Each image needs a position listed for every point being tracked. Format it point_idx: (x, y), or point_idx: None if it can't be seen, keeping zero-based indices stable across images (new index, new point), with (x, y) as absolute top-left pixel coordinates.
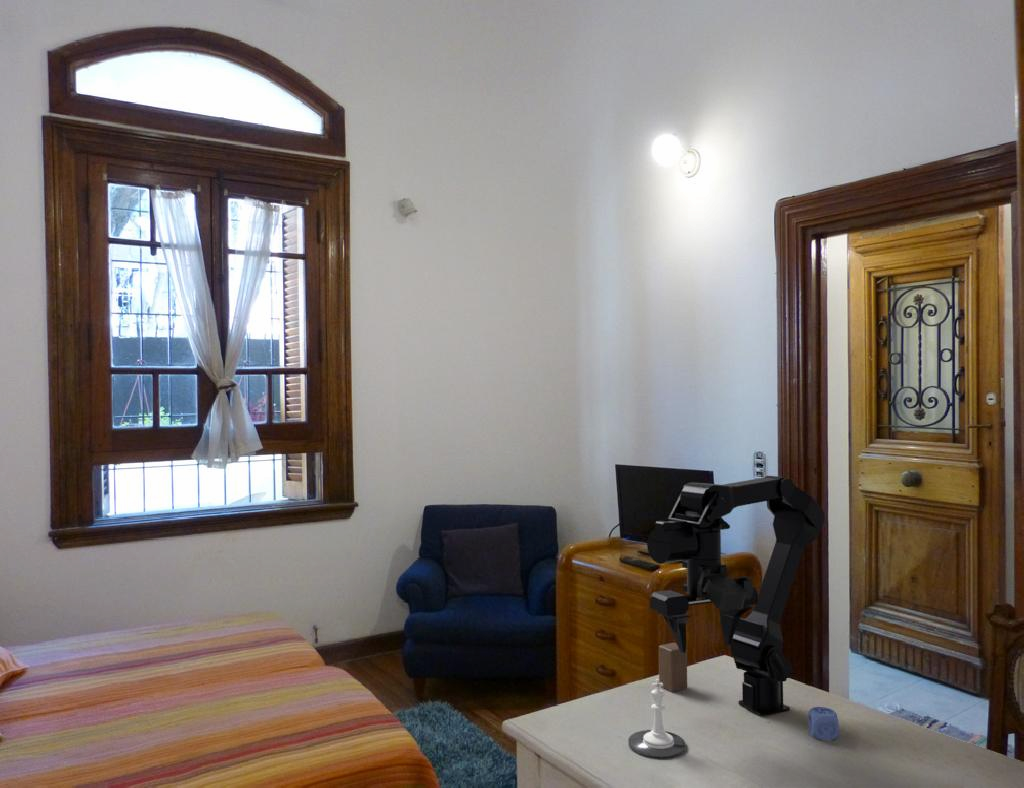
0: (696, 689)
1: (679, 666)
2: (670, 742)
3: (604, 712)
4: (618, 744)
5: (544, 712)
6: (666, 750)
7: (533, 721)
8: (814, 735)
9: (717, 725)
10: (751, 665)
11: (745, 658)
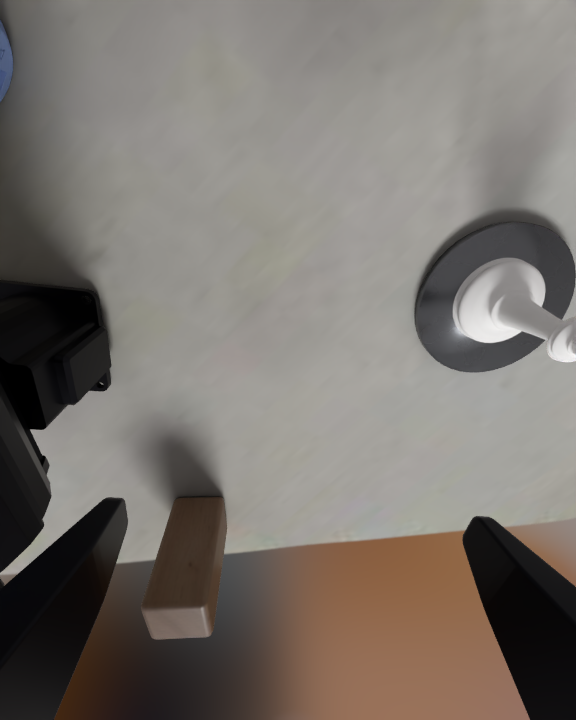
0: (157, 487)
1: (187, 552)
2: (505, 263)
3: (425, 481)
4: (546, 353)
5: (512, 522)
6: (525, 249)
7: (562, 504)
8: (7, 37)
9: (258, 315)
10: (10, 403)
11: (15, 440)
